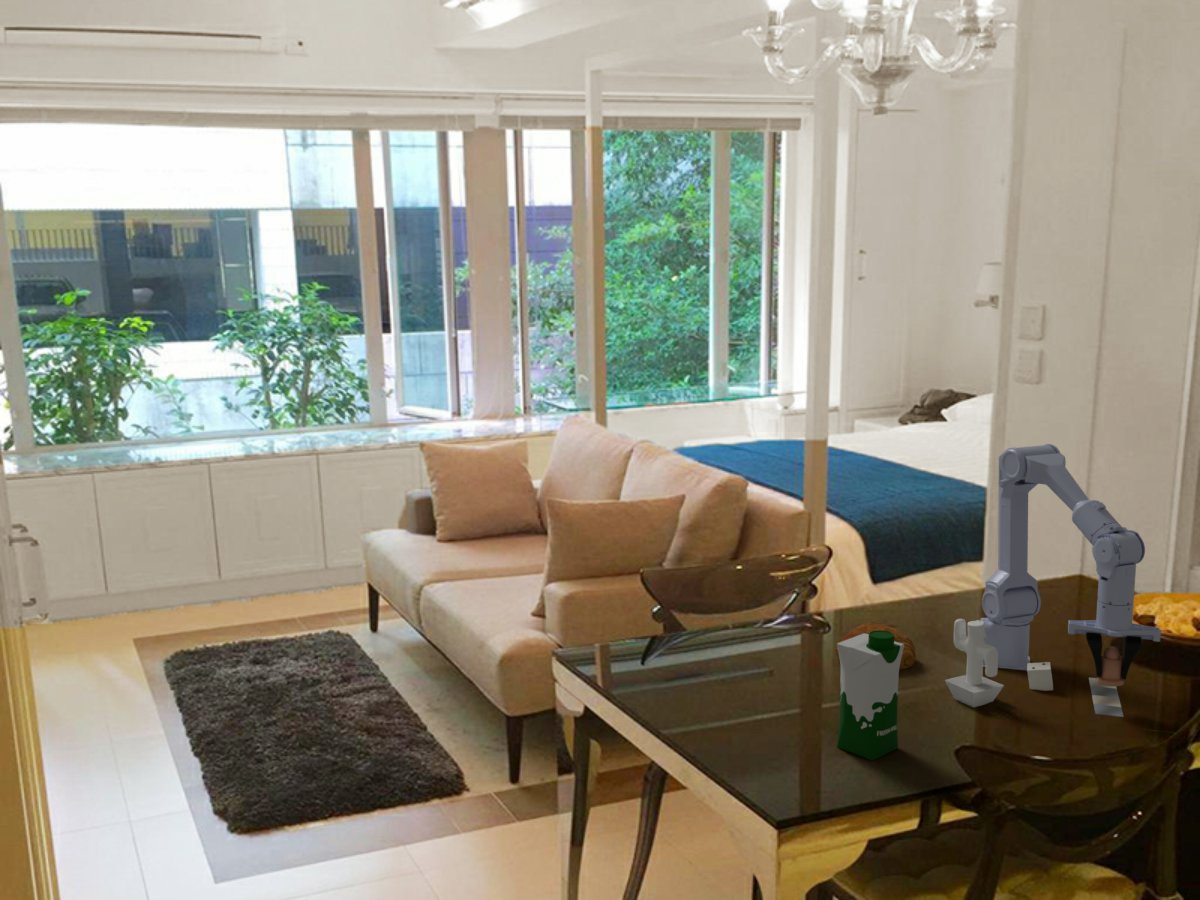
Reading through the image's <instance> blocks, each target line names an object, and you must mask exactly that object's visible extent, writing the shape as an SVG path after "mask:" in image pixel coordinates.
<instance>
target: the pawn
mask: <svg viewBox="0 0 1200 900" xmlns="http://www.w3.org/2000/svg"><path fill="white" fill-rule="evenodd" d="M1122 658H1123V657H1122V656H1121V651H1120V650H1119V648H1117V647H1116V646H1108V647H1106V648H1105V649H1104V651H1103V655H1102V654H1101V677H1097V676H1096V678H1097V681H1098V682H1099V683H1100V684H1103V685H1106V686H1116V687H1121V686H1123V685H1124V683H1125V682H1124V681H1125V679H1122V678H1121V675H1122V660H1123V659H1122Z"/></svg>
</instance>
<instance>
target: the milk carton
mask: <svg viewBox="0 0 1200 900" xmlns="http://www.w3.org/2000/svg"><path fill="white" fill-rule="evenodd" d="M839 642H840V641H839ZM839 642H837V643H836V646H837V648H838V653H839V658H840V659H839V658H838V659H839V662H840V680H839V681H840V682H839V685H840V686H839V687H840V689H839V695H840V696H839V717H838V731H837V743H836V747H837V748H839V749H842V750H844V751H846V752H849V753H852V754H855V755H857V756H860V757H863V758H865V759H868V760H870V761H875V760H877V759H879V758H880V757H883V756H884V755H887V754H889V753H891V752H892V751H895V750H897V749H898V748H899V738H898V736H899V735H898V708H899V707H898V706H899V705H898V704H899V703H898V702H899V673H900V670H899V667H900V662H901V657H902V653H903V648H904V644H902V643H898V642H895V641H894V634H893V633H891V632H888V631H881V630H877V631H871V632H870V633H869V634H865V633H864V634H861V635H859V636H856V637H853V638H850V639H848V640H845V641H842V642H840V643H839Z"/></svg>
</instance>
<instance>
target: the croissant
mask: <svg viewBox="0 0 1200 900" xmlns="http://www.w3.org/2000/svg"><path fill="white" fill-rule="evenodd" d="M877 630H881V631H888V632H891V633H893V634H894V641H895V642H898V643H902V644H904V648H903V653H902V657H901V662H900V667H899V671H900V670H904V669H909V668H910V667H912V666H913V665H914V663H915V660H916V648H915V644H914V643H913V640H912V639H910V638H909V637H908V636H907V635H905V634H904V633H902V632H901V631H900V630H899V629H896V628H894V627H891V626H888V625H885V624H880V623H877V622H873V621H872V622H865V623H863V624H860V625H858V626H857V627H856V628H855V627H854V628H853V629H851V630H849V632H848V633H846V634H844V635H843V636H842V638H841V640H839V642H838V643H840V642H842V641H845V640H848V639H850V638H853V637H856V636H859V635H861V634H864V633H865V634H869V633H870V632H871V631H877ZM833 650H834V651H835V652H836V653H835V655H836V657H837V658H838V660H840V658H839V653H838V648H837V645H836V646H835V647H834V649H833Z"/></svg>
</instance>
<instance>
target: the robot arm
mask: <svg viewBox="0 0 1200 900" xmlns="http://www.w3.org/2000/svg"><path fill="white" fill-rule="evenodd" d="M1066 463H1067V462H1066V457H1065V456H1064V455H1063V454H1062V453H1061V451H1060V450H1059V448H1058V447H1057V446H1055V445H1054V444H1051V443H1045V444H1044V445H1042V444H1041V445H1035V446H1033V445H1032V446H1021V447H1016V446H1013V447H1012V446H1011V447H1008V448H1007V449H1006V450H1004V451H1003V452H1002V453H1001V454H1000V455H999V456H998V515H997V517H998V518H997V519H998V521H997V522H998V523H997V526H998V527H997V530H998V531H997V549H998V550H997V570H996V572H994V573H993V574H992V575H991V576H990V577H989V578H988V579H987V580H986V581H985V586H984V587H985V588H984V592H983V595H982V599H981V606H982V610H983V612H984V615H985V616H986V617H980V621H983V622H984V623H985V631H986V632H985V634H986V638H984V642H985V644H988V645H991V646H993V647H995V648H996V649H997V652H998V668H999V669H1009V670H1018V671H1019V670H1020V671H1027V663H1031V657H1030V656H1029V652H1030V651H1029V650H1030V649H1029V648H1030V631H1031V626H1030V625H1031V622H1033V621H1034V616H1036V615H1038V613H1039V612H1040V610H1041V606H1042V605H1041V604H1042V603H1041V602H1042V601H1041V595H1040V593H1039V588H1038V580H1037V579H1036V578H1035V577H1034V576H1033V575H1031V573H1029V572H1028V566H1029V564H1028V562H1029V561H1028V558H1029V557H1028V556H1029V555H1028V554H1029V552H1028V550H1029V549H1028V547H1029V546H1028V545H1029V541H1028V540H1029V493H1030V492H1031V491H1032V490H1033V489H1034V488H1035V487H1036V486H1037V485H1039V484H1040V485H1045V486H1047V487H1048V488H1049V490H1051V491H1052V492H1053V493H1054V494H1055V495H1056V496H1057V498H1059V499H1060V500H1061V501H1062V502H1063V504H1065V505H1066V507H1068V508H1069V509H1070V510H1071V512H1072V514H1071V521H1072V523H1073V524H1074V525H1075V526H1076V528H1077V529H1078V530H1079V531H1080V532H1081V534H1082V535H1083V536H1084V537H1085V538H1086V540H1088V542H1089V543H1090V544H1091V546H1092V547H1091V551H1092V556H1093V559H1094V561H1095V564H1096V567H1095V571H1096V573H1097V575H1098V586H1097V587H1098V588H1097V599H1096V600H1097V602H1096V617H1095V619H1093V620H1089V619H1088V620H1083V619H1082V620H1072V619H1070V620H1069V619H1068V621H1067V622H1068V624H1067V632H1068V633H1067V634H1068V635H1076V634H1080V635H1085V638H1086V641H1087V644H1088V646H1089V649H1090V652H1091V655H1092V658H1093V661H1094V665H1095V675H1096V676H1095V677H1096V678H1097V677H1101V656H1102V653H1103V652H1102V651H1103V638H1102V636H1105V637H1113V638H1114V637H1115V638H1116V637H1117V638H1122V646H1123V647H1122V657H1121V658H1122V659H1123V660H1122V675H1121V678H1122V679H1124V680H1127V678H1128V677H1127V676H1128V673H1129V670H1130V668H1131V664H1132V662H1133V661H1134V659H1135V657H1136V655H1137V654H1138V652H1139V651H1140V650H1141V647H1142V640H1152V641H1153V642H1157V643H1158V642H1161V633H1162V632H1161V629H1160V627H1158V626H1157V627H1156V626H1149V625H1143V624H1138V623H1133V616H1134V602H1135V586H1136V574H1137V573H1136V571H1137V570H1136V569H1137V564H1139V563H1141V562H1142V560H1144V558H1145V553H1146V546H1145V543H1144V540H1143V538H1142V537H1141V535H1140V533H1139V532H1137V531H1135V530H1132V529H1127V528H1126V527H1124V526H1122V525H1121V524H1120V523H1119V522H1118V521H1117V519H1115V517H1114V516H1113V515H1112V513H1110V511H1109V510H1108V509H1107V507H1106V504H1104V503H1103V502H1101V501H1099V500H1095V499H1090V498H1088V496H1087V494H1085V492H1084V491H1083V489H1082V488H1081V486H1080V485H1079V484H1078V482H1077V481H1076V480H1075V478H1074V477H1073V475H1072V474H1071V473H1070V472H1069V470H1068V469H1067V467H1066ZM983 668H985V661H984V659H983Z"/></svg>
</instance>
